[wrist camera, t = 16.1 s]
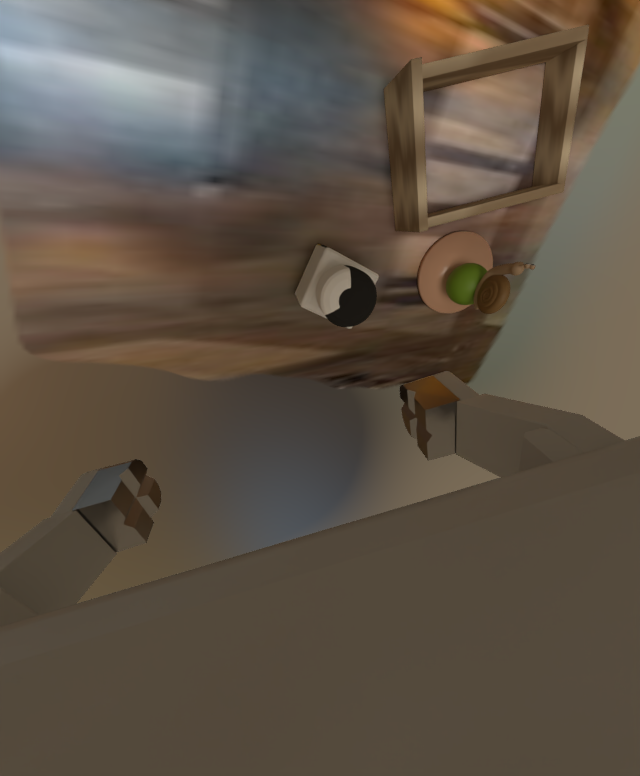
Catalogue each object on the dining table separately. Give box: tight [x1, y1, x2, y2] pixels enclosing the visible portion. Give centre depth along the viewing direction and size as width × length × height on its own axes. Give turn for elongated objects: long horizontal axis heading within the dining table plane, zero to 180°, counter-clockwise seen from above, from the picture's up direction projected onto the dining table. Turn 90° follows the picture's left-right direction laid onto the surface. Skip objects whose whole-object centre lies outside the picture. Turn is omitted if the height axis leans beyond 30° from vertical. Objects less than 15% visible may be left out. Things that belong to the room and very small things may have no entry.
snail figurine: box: [446, 262, 535, 314], centre depth 39 cm, size 5×6×12 cm
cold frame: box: [384, 25, 589, 232], centre depth 34 cm, size 14×20×7 cm
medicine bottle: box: [295, 244, 379, 329], centre depth 37 cm, size 7×7×12 cm
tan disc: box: [417, 231, 493, 313], centre depth 44 cm, size 11×11×1 cm
